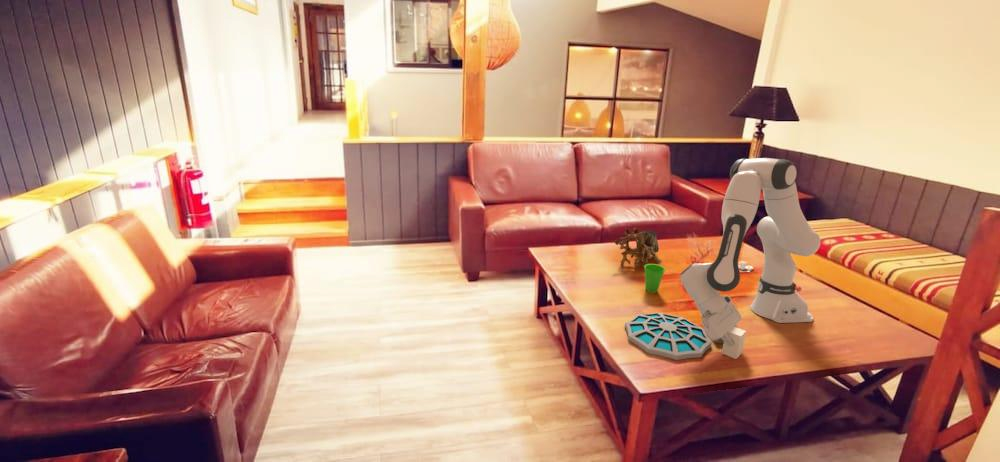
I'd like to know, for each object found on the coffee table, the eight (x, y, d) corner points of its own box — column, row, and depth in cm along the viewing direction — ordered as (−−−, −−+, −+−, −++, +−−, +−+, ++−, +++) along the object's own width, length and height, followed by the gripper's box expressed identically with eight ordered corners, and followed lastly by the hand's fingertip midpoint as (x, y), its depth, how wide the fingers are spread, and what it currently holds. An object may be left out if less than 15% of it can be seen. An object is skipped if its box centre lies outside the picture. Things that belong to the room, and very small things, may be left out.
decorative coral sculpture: (670, 241, 256) (675, 250, 228) (644, 273, 261) (645, 285, 234) (632, 214, 259) (632, 220, 232) (607, 246, 265) (604, 255, 237)
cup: (663, 295, 212) (666, 272, 208) (641, 293, 213) (644, 270, 210) (660, 287, 220) (664, 264, 216) (640, 284, 222) (643, 262, 218)
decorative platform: (621, 314, 196) (622, 303, 194) (695, 320, 193) (697, 308, 191) (632, 357, 167) (633, 345, 165) (720, 365, 164) (722, 352, 162)
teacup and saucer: (753, 269, 243) (754, 261, 242) (751, 274, 237) (752, 267, 235) (734, 265, 247) (735, 257, 246) (731, 270, 241) (733, 262, 240)
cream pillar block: (727, 347, 173) (731, 325, 170) (741, 353, 170) (746, 331, 167) (721, 353, 170) (725, 330, 167) (736, 359, 167) (740, 336, 164)
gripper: (707, 313, 162) (732, 350, 159) (731, 294, 176) (754, 328, 172) (692, 320, 167) (716, 356, 163) (716, 301, 180) (739, 334, 177)
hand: (735, 341), depth 168 cm, fingers closed on cream pillar block, 5 cm apart
